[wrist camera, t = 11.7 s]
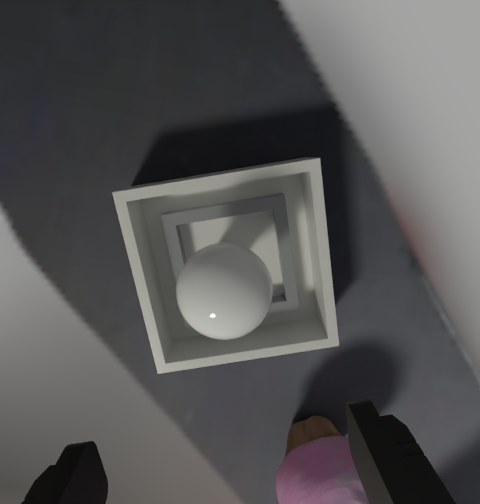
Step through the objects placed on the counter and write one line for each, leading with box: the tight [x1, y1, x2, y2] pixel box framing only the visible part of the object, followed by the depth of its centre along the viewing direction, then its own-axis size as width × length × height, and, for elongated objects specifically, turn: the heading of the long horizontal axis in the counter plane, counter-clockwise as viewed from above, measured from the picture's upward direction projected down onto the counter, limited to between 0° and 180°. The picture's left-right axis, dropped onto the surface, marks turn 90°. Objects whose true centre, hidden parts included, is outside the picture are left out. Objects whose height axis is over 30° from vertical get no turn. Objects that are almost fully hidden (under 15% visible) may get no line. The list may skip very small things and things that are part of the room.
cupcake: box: [276, 416, 369, 504], centre depth 33 cm, size 9×9×10 cm
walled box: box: [112, 157, 339, 374], centre depth 30 cm, size 15×15×5 cm
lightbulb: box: [176, 242, 273, 340], centre depth 27 cm, size 6×6×11 cm
